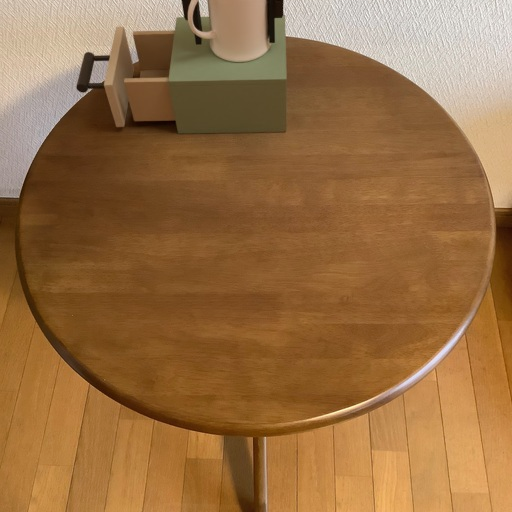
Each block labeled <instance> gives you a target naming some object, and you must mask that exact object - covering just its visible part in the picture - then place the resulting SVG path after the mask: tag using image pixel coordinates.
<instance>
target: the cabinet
mask: <svg viewBox="0 0 512 512" xmlns="http://www.w3.org/2000/svg"><path fill="white" fill-rule="evenodd" d="M201 24H202V32H209V31H210V21H209V16H201ZM174 30H175V33H174V41H173V48H172V56H171V64H170V72H169V80H168V82H169V88H170V93H171V99H172V104H173V109H174V115H175V120H174V121H175V125H176V130H177V134H178V135H181V134H182V135H184V134H185V135H187V134H190V135H191V134H238V133H239V134H241V133H243V134H244V133H245V134H246V133H247V134H249V133H250V134H251V133H286V132H287V105H288V104H287V101H288V100H287V99H288V98H287V96H288V95H287V92H288V91H287V89H288V87H287V85H288V76H287V75H288V73H287V41H286V40H287V38H286V37H287V36H286V15H285V14H283V17H282V18H275V43H271V45H270V48H269V49H268V51H267V52H266V53H265V54H264V55H262V56H261V57H259V58H257V59H255V60H251V61H247V62H232V61H227V60H224V59H222V58H220V57H218V56H217V55H216V54H215V53H214V52H213V51H212V49H211V47H210V39H204V38H202V43H201V45H196V42H195V35H194V32H193V31H192V29H191V28H190V25H189V22H188V20H185V18H184V16H176V18H175V25H174Z"/></svg>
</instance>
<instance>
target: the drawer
mask: <svg viewBox="0 0 512 512" xmlns="http://www.w3.org/2000/svg"><path fill="white" fill-rule="evenodd" d="M126 33H127V32H126V29H125V26H115V30H114V36H113V40H112V44H111V48H110V54H108V55H107V54H105V55H102V54H101V55H96V54H94V53H93V52H91V51H87V52H85V53H84V54H83V58H82V61H81V66H80V70H79V74H78V78H77V82H76V86H75V87H76V90H77V91H78V92H80V93H82V94H83V93H84V94H85V93H87V92H88V91H89V90H103V89H104V90H105V94H106V97H107V101H108V103H109V108H110V111H111V114H112V118H113V121H114V124H115V127H116V128H124V127H125V125H126V119H127V113H128V109H129V108H128V107H130V111H131V115H132V119H133V121H134V122H163V121H164V122H166V121H167V122H169V121H170V122H171V121H173V122H174V121H176V120H175V115H174V109H173V104H172V99H171V93H170V88H169V82H168V80H169V72H170V64H171V56H172V48H173V41H174V33H175V29H174V30H173V29H172V30H170V29H169V30H133V31H132V37H133V42H134V47H135V50H136V51H135V52H136V56H137V60H138V64H139V68H140V74H139V77H134V73H135V67H134V62H133V58H132V55H131V50H130V46H129V42H128V37H127V34H126ZM95 62H107V63H108V64H107V69H106V72H105V73H106V74H105V78H104V82H90V81H91V77H92V73H93V69H94V65H95Z"/></svg>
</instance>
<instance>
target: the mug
mask: <svg viewBox="0 0 512 512" xmlns="http://www.w3.org/2000/svg"><path fill="white" fill-rule="evenodd" d="M197 2H198V0H191V2H190V5H189V9H188V22H189V25H190V28H191V29H192V31H193V32H194V33H195V34H196V35H197V36H199V37H201V38H204V39H210V47H211V49H212V51H213V52H214V53H215V54H216V55H217V56H218V57H220V58H222V59H224V60H227V61H232V62H247V61H251V60H255V59H257V58H259V57H261V56H262V55H264V54H265V53H266V52H267V51H268V49H269V48H270V45H271V43H269V0H207V10H208V17H209V21H210V31H209V32H202V31H199V30H197V29H196V28H195V26H194V24H193V11H194V8H195V6H196V4H197Z"/></svg>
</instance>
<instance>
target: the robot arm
mask: <svg viewBox="0 0 512 512" xmlns="http://www.w3.org/2000/svg"><path fill="white" fill-rule="evenodd" d="M190 2H191V0H181V6H182V12H183V17H184V18H185V20H188V9H189V5H190ZM283 15H284V0H269V43H275V18H282V17H283ZM201 17H202V16H201V7H200V1H199V0H198V2H197V4H196V6H195V8H194V11H193V24H194V26H195V28H196V29H197V30H199V31H202V24H201ZM194 35H195V42H196V45H201V43H202V38H201V37H199V36H197V35H196V34H195V33H194Z"/></svg>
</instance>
